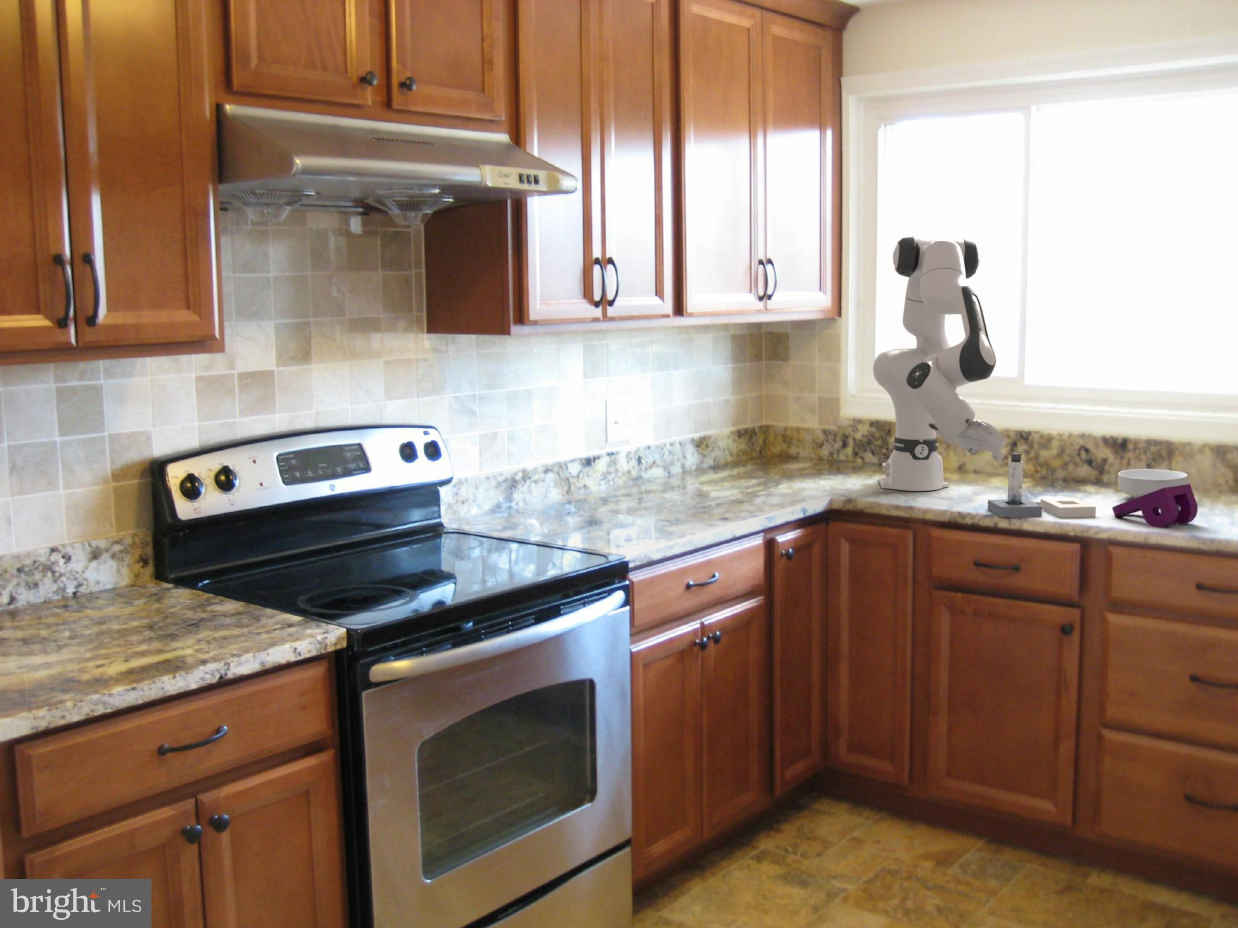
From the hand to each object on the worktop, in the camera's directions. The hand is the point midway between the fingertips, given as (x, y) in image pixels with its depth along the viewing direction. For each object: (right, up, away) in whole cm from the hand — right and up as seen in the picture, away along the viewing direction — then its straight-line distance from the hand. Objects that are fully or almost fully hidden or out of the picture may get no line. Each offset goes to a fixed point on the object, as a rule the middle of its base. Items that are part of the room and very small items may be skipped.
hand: (987, 455), depth 295 cm
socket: (+8, -14, +5) cm, 17 cm away
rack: (+21, -14, +5) cm, 26 cm away
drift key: (+16, -13, +15) cm, 26 cm away
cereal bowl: (+49, -12, +20) cm, 54 cm away
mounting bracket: (+37, -16, -6) cm, 41 cm away
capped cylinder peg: (+8, -14, +5) cm, 17 cm away
